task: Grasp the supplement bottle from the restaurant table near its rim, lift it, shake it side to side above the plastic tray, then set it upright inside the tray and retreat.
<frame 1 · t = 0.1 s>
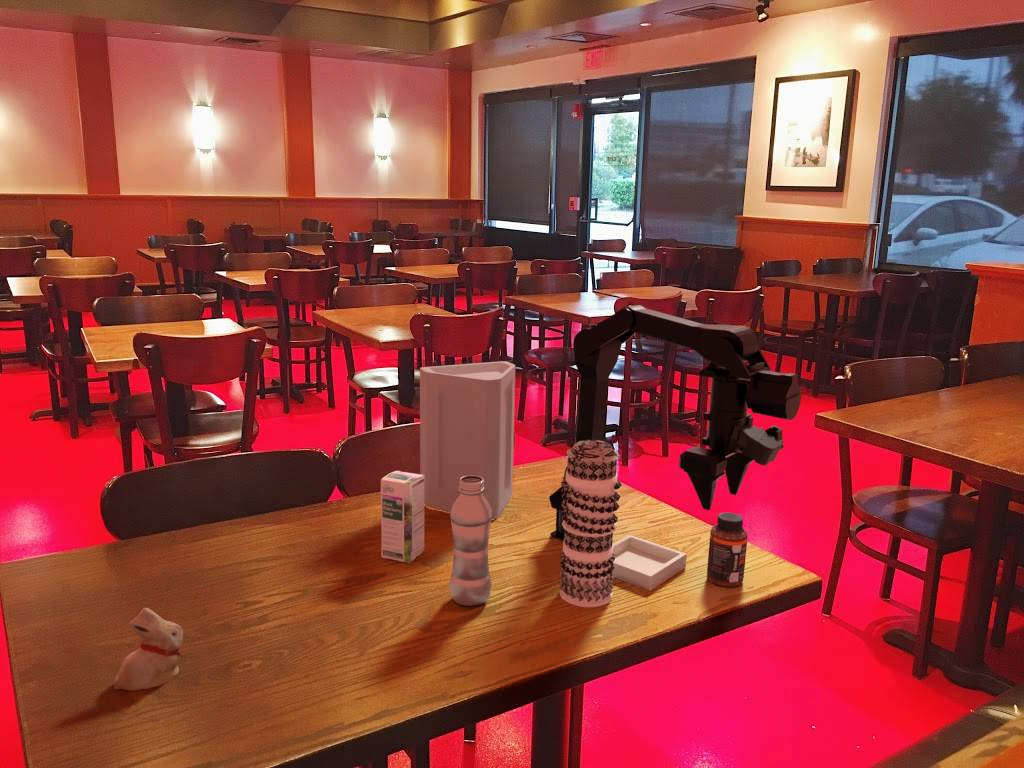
hand: (720, 501, 131), 15 cm above the table, tool pointing down, fingers open, 9 cm apart
decorative candle: (585, 595, 131), on the table
syrup box: (403, 555, 143), on the table
supplement bottle: (724, 581, 136), on the table
triangular storage bin: (476, 507, 165), on the table
chocolate bunny: (150, 679, 106), on the table
plastic bottle: (470, 602, 128), on the table
tray: (638, 567, 140), on the table
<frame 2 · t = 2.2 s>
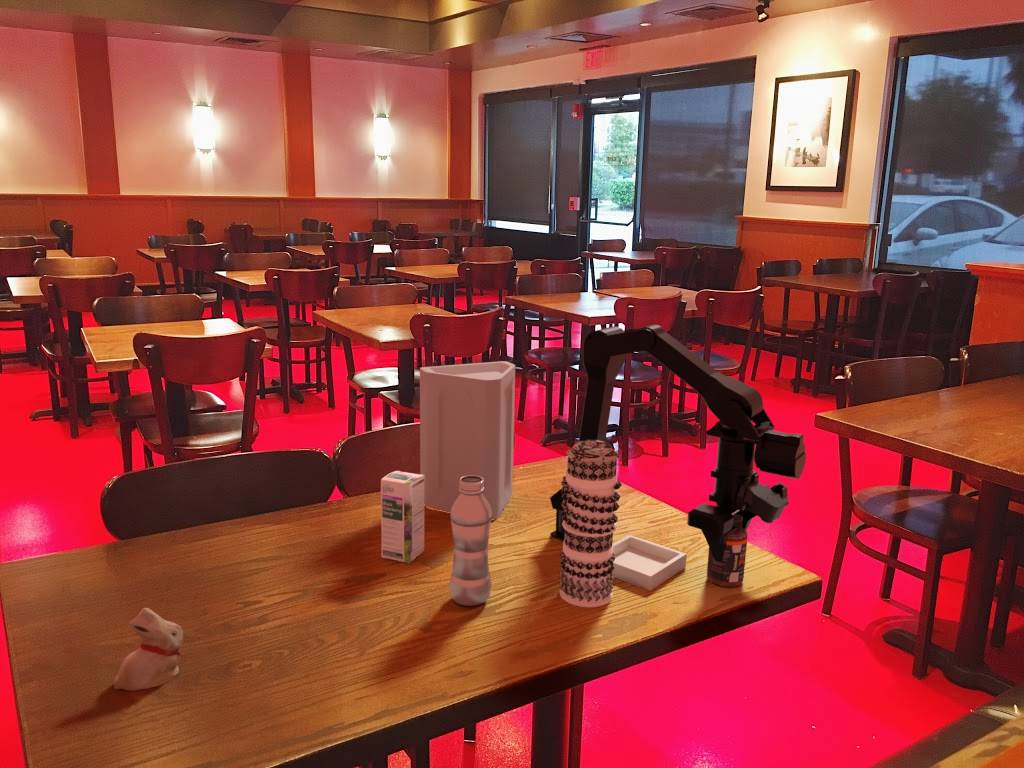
hand: (726, 554, 135), 5 cm above the table, tool pointing down, fingers closed on supplement bottle, 6 cm apart
supplement bottle: (724, 581, 136), on the table, touching gripper
everything else where it was.
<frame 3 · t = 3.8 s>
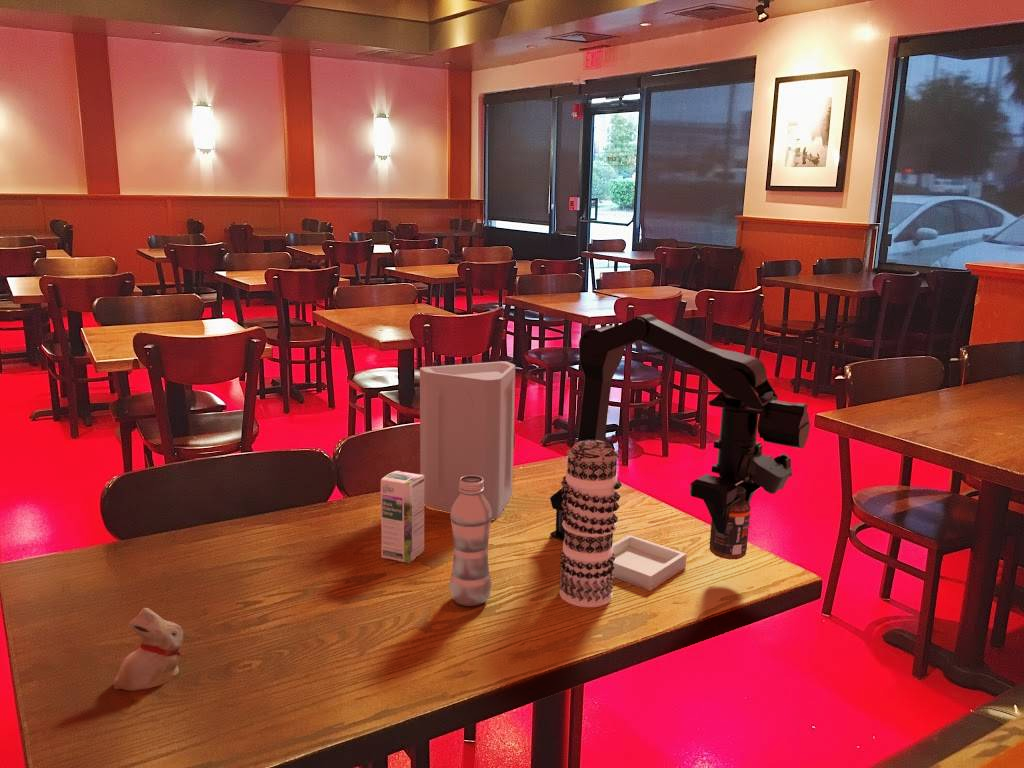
hand: (729, 527, 134), 9 cm above the table, tool pointing down, fingers closed on supplement bottle, 6 cm apart
supplement bottle: (727, 554, 135), point 5 cm above the table, touching gripper
everything else where it was.
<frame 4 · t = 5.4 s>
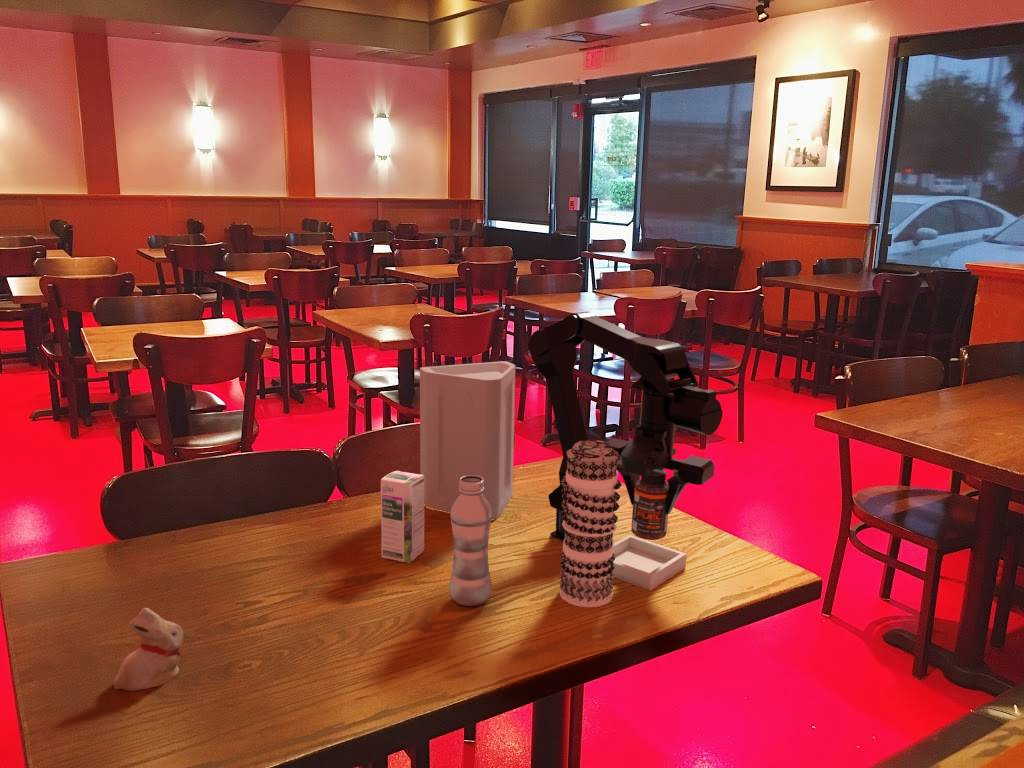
hand: (650, 508, 137), 11 cm above the table, tool pointing down, fingers closed on supplement bottle, 6 cm apart
supplement bottle: (648, 535, 138), point 6 cm above the table, touching gripper
everything else where it was.
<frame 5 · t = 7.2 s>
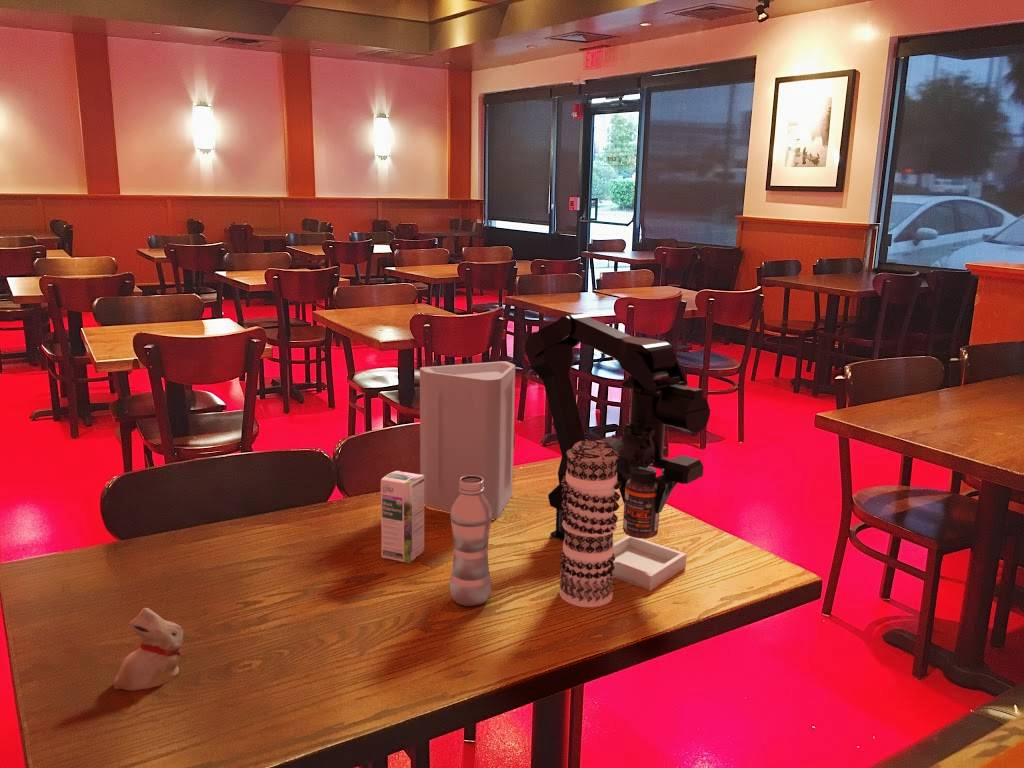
hand: (641, 507, 138), 11 cm above the table, tool pointing down, fingers closed on supplement bottle, 6 cm apart
supplement bottle: (640, 534, 139), point 6 cm above the table, touching gripper
everything else where it was.
when the fingers open (6 cm above the table, at t = 8.8 s): supplement bottle stays where it is, resting on tray.
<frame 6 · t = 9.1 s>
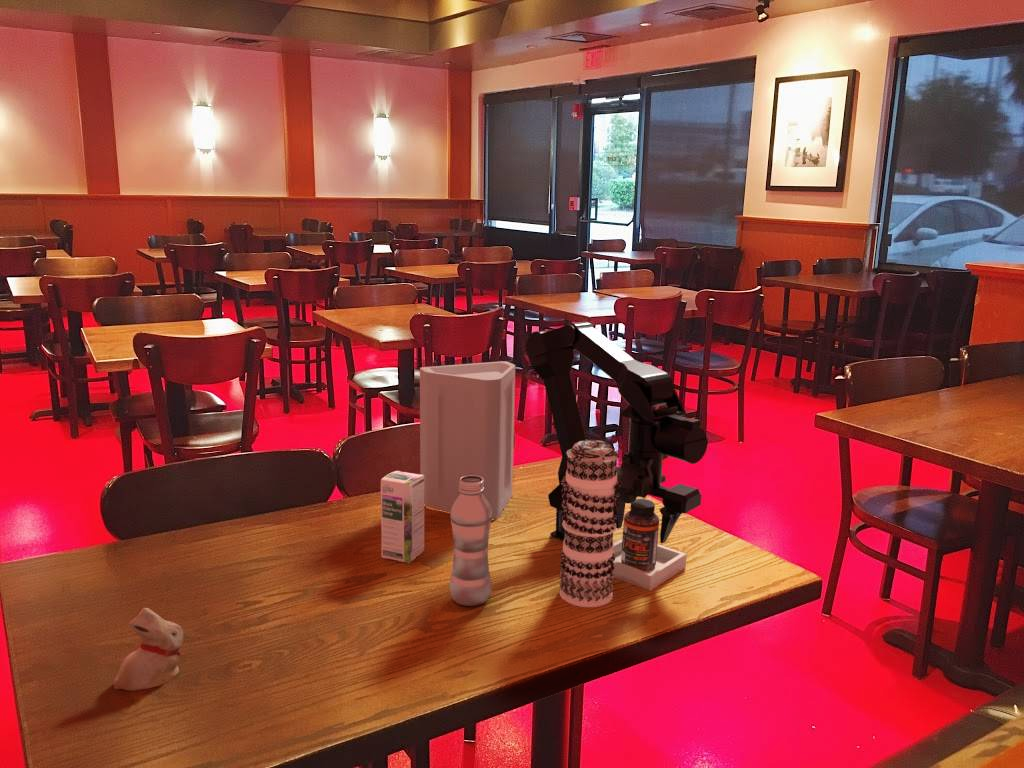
hand: (640, 535, 139), 6 cm above the table, tool pointing down, fingers open, 8 cm apart
supplement bottle: (638, 565, 140), resting on tray
everything else where it was.
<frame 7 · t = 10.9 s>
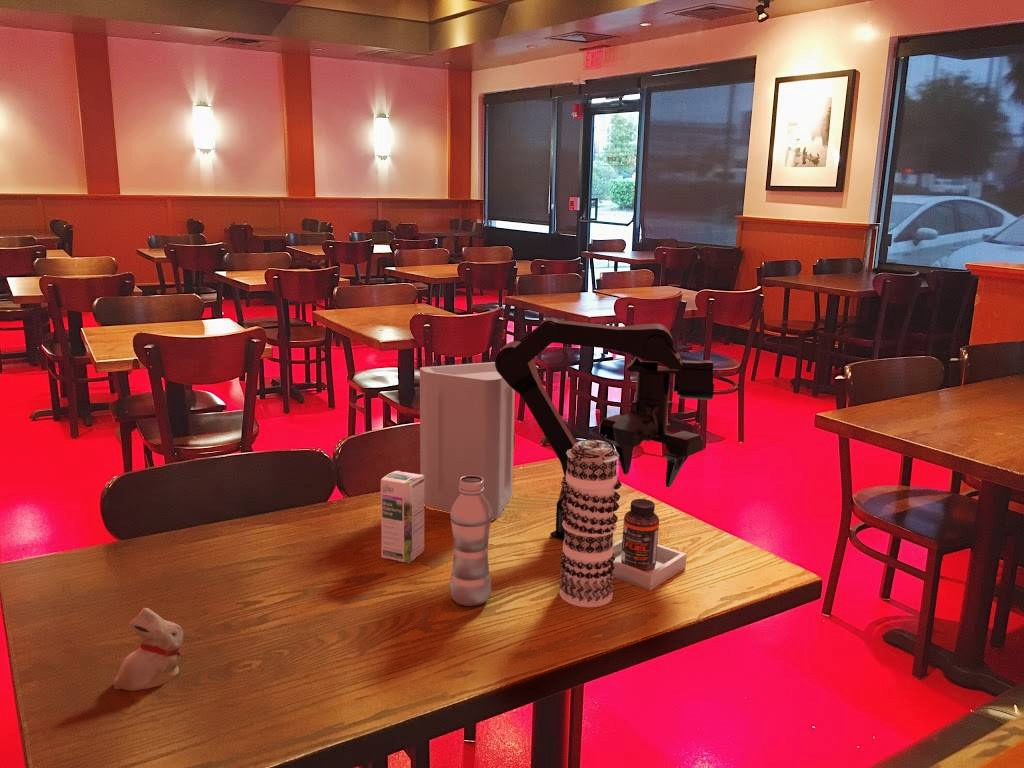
hand: (646, 480, 148), 12 cm above the table, tool pointing down, fingers open, 9 cm apart
nothing on the table moved.
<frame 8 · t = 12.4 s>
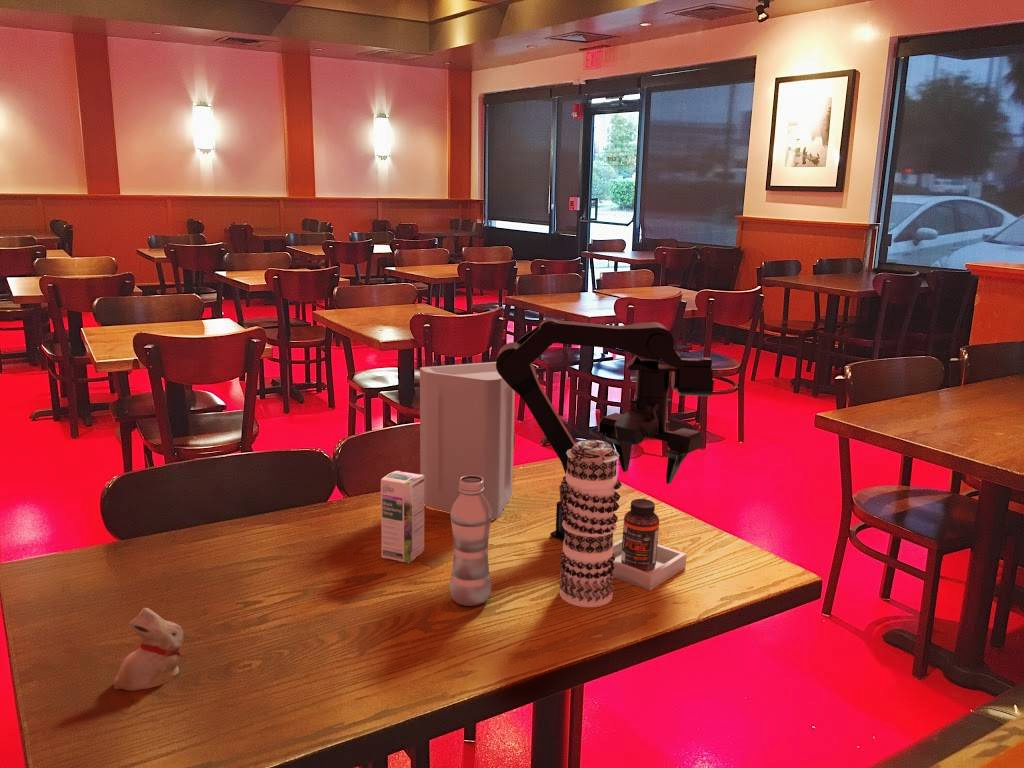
hand: (646, 477, 149), 12 cm above the table, tool pointing down, fingers open, 9 cm apart
nothing on the table moved.
at the end: supplement bottle 0.1 cm off-centre on the tray, point 0.4 cm above the tray's base; supplement bottle tilted 0°; the gripper is holding nothing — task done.
